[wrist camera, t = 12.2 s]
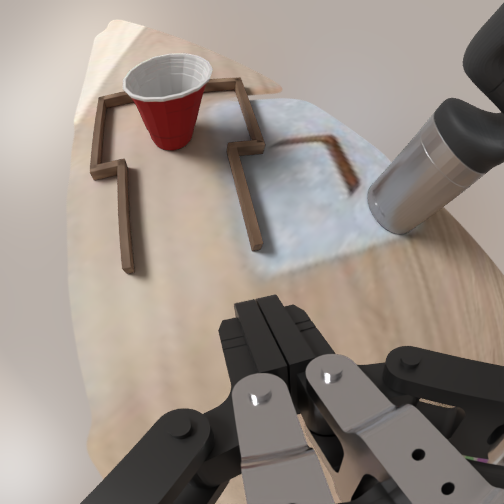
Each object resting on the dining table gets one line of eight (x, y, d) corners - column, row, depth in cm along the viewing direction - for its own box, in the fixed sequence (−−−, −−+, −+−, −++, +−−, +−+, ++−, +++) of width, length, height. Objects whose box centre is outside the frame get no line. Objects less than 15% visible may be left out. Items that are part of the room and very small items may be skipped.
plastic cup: (173, 102, 41) (171, 41, 30) (223, 133, 40) (231, 68, 29) (121, 140, 38) (104, 78, 26) (169, 177, 36) (160, 112, 25)
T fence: (239, 86, 45) (240, 77, 43) (291, 243, 36) (295, 237, 34) (101, 105, 40) (98, 97, 38) (95, 279, 31) (90, 274, 29)
